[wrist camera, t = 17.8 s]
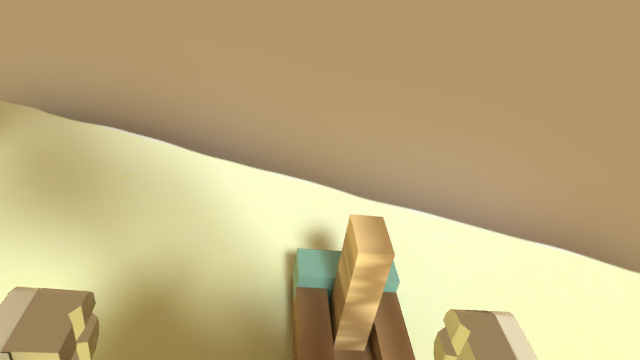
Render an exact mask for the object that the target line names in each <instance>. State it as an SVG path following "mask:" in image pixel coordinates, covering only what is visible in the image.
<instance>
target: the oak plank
mask: <svg viewBox="0 0 640 360" xmlns="http://www.w3.org/2000/svg"><path fill="white" fill-rule="evenodd" d="M394 256H395V254H394V251H393V248H392V244H391V241H390V238H389V235H388V231H387V228H386V225H385V222H384V219H383V217H376V216H364V215H351V214H350V218H349V222H348V226H347V231H346V235H345V239H344V243H343V248H342V252H341V256H340V260H339V265H338V269H337V273H336V277H335V282H334V286H333V290H332V294H331V299H330V303H329V313H330V321H331V330H332V338H333V347H334V350H359V351H364V350H365V347H366V344H367V341H368V338H369V334H370V331H371V328H372V325H373V322H374V319H375V316H376V312H377V309H378V306H379V303H380V300H381V297H382V293H383V290H384V287H385V284H386V281H387V278H388V275H389V271H390V268H391V265H392V262H393V259H394Z"/></svg>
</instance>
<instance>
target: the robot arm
mask: <svg viewBox="0 0 640 360" xmlns="http://www.w3.org/2000/svg"><path fill="white" fill-rule="evenodd" d="M95 304H96V303H95V298H94V293H92V292H88V291H74V290H61V289H48V288H29V287H15V288H14V289H13V290H11V291H10V292H9V293H8V295H7V296H6V298H5V299H4V301H3V302H2V304H1V305H0V360H92V357H93V354H94V352H95V349H96V345H97V340H98V335H99V323H98V317H96V316H95V315H94V314H93V313H92V311H93V308H94V306H95ZM443 321H444V324H445V326H446V327H445V328H443V329H442V330H440V331H439V332H438V333H437V336H436V338H435V341H434V359H435V360H538V359H537V357H536V355H535V353H534V351H533V349H532V348H531V346H530V344H529V342H528V340H527V339H526V337H525V335H524V333H523V331H522V330H521V328H520V326H519V324H518V322H517V321H516V319H515V317H514V315H512V314H511V313H510V312H497V311H489V312H488V311H478V310H452V309H450V310H449V311H448V312H447V313H446V315H445V317H444V319H443Z"/></svg>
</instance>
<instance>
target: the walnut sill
mask: <svg viewBox="0 0 640 360" xmlns="http://www.w3.org/2000/svg"><path fill="white" fill-rule="evenodd" d="M341 252H342V251H329V250H315V249H300V248H297V254H296V260H295V266H294V272H293V278H292V311H293V344H294V360H415V357H414V353H413V350H412V346H411V343H410V339H409V336H408V332H407V329H406V325H405V322H404V318H403V315H402V311H401V308H400V304H399V301H398V297H397V294H396V291H397V288H398V285H399V282H400V281H399V278H398V275H397V271H396V268H395V265H394V261H393V262H392V265H391V268H390V271H389V275H388V278H387V281H386V284H385V287H384V290H383V293H382V297H381V300H380V303H379V306H378V309H377V312H376V316H375V319H374V322H373V325H372V328H371V331H370V334H369V338H368V341H367V344H366V347H365V350H364V351H359V350H334V347H333V338H332V330H331V321H330V313H329V303H330V299H331V294H332V290H333V286H334V282H335V277H336V273H337V269H338V265H339V260H340V256H341Z"/></svg>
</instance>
